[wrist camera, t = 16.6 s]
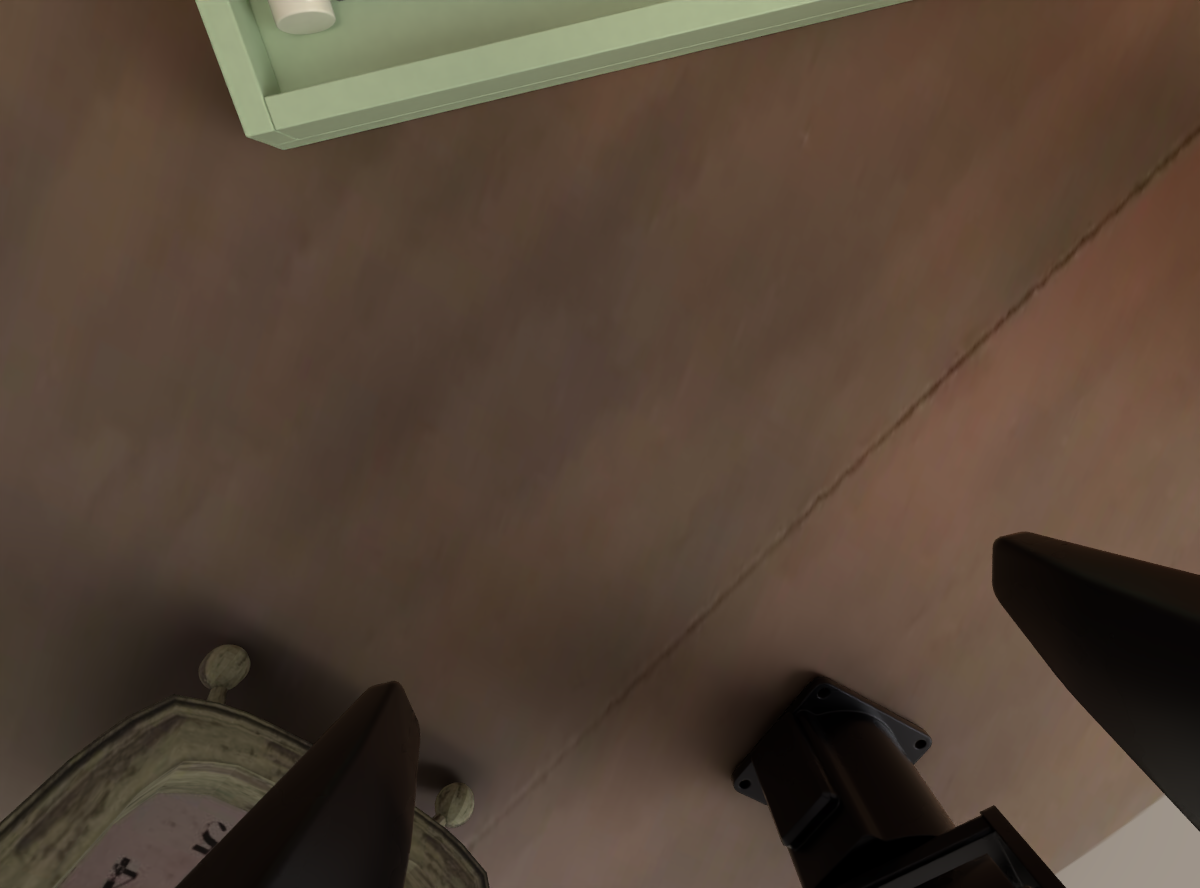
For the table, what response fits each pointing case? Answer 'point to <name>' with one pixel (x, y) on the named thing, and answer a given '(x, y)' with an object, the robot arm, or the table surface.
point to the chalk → (302, 15)
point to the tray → (460, 53)
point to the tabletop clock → (185, 798)
